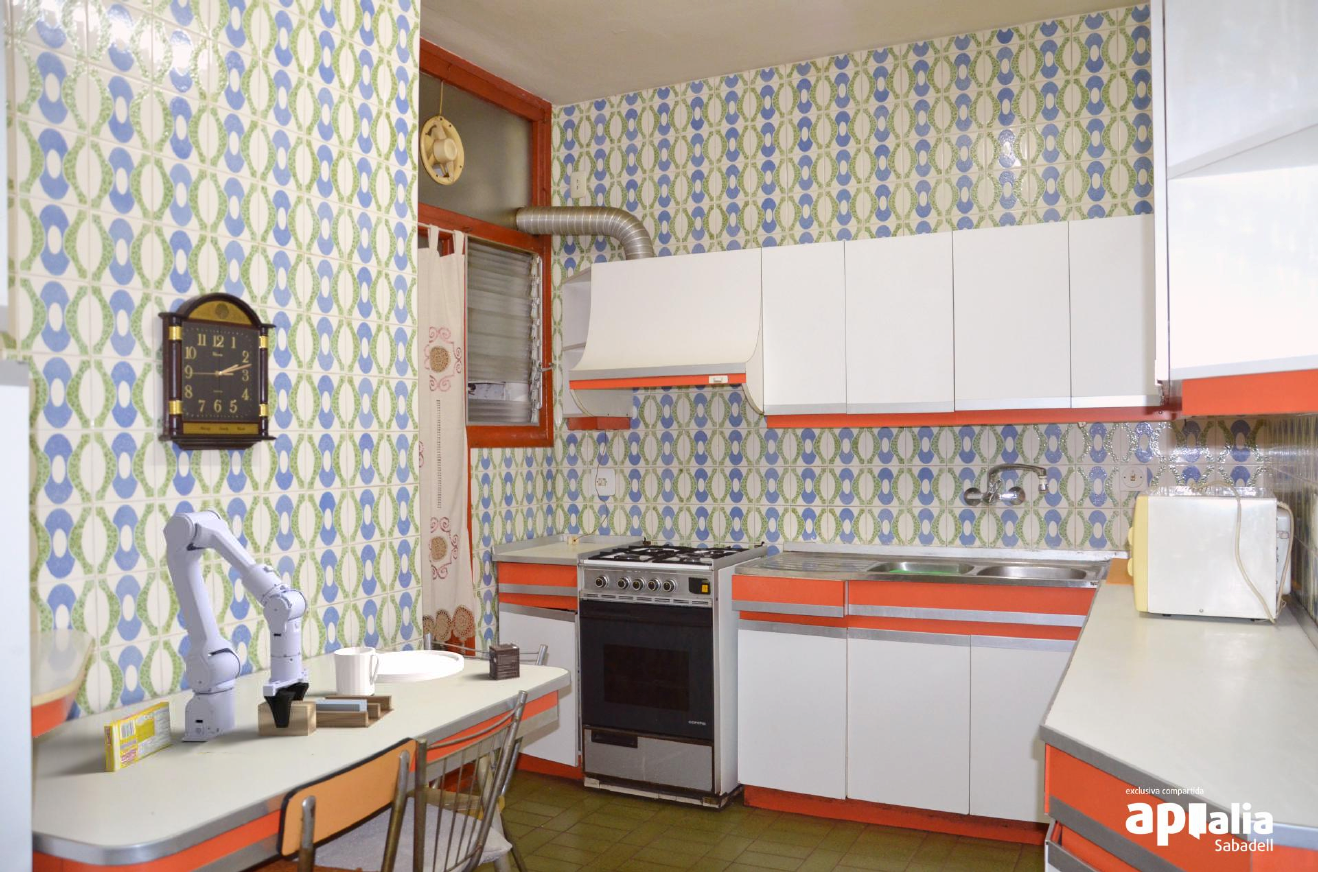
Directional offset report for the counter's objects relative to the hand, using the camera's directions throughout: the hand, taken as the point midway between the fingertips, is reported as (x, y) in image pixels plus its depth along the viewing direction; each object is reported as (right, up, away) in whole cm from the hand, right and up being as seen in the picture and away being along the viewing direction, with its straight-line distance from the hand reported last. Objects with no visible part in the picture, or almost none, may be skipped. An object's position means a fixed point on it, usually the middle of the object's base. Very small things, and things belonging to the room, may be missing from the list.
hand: (287, 724), depth 196 cm
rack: (+8, -2, +10) cm, 13 cm away
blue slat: (+8, -1, +7) cm, 11 cm away
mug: (+5, -3, +32) cm, 32 cm away
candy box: (-23, -3, -10) cm, 26 cm away
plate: (+9, -4, +58) cm, 59 cm away
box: (+35, -2, +48) cm, 60 cm away
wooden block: (0, -2, 0) cm, 2 cm away
